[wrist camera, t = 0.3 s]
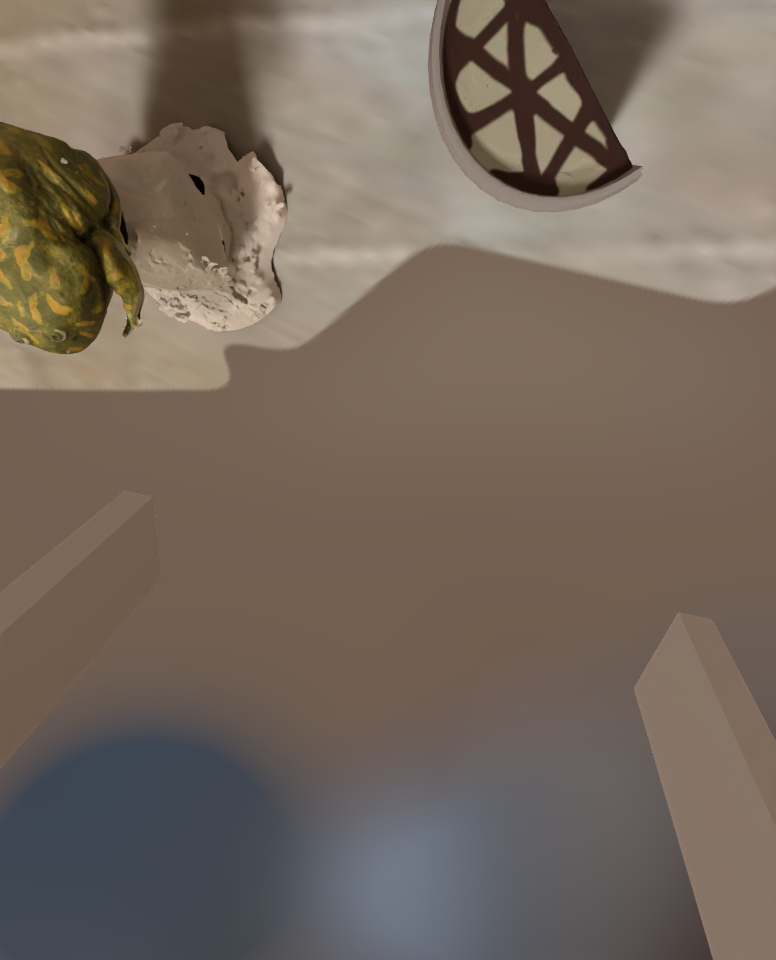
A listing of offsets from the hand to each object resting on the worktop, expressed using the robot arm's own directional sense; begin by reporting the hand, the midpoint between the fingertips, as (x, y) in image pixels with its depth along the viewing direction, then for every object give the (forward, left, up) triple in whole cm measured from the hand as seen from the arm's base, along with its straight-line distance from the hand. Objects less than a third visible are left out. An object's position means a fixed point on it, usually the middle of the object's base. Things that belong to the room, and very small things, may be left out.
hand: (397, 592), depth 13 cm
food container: (-12, +1, -28) cm, 30 cm away
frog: (-4, -18, -28) cm, 33 cm away
